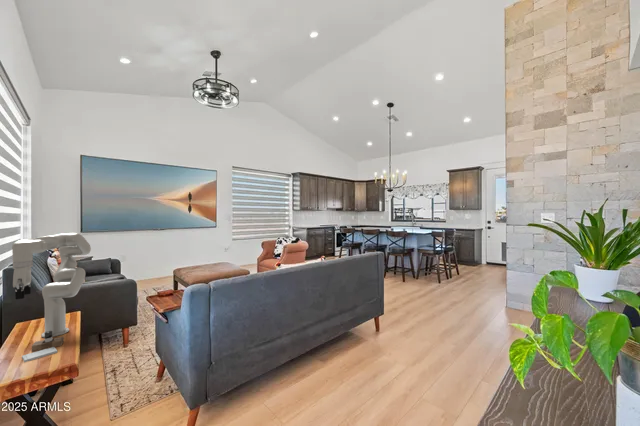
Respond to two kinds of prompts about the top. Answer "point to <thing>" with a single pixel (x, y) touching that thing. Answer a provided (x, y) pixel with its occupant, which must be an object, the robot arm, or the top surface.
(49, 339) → the metal cylinder
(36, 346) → the block with rectangular opening
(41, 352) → the hard drive
